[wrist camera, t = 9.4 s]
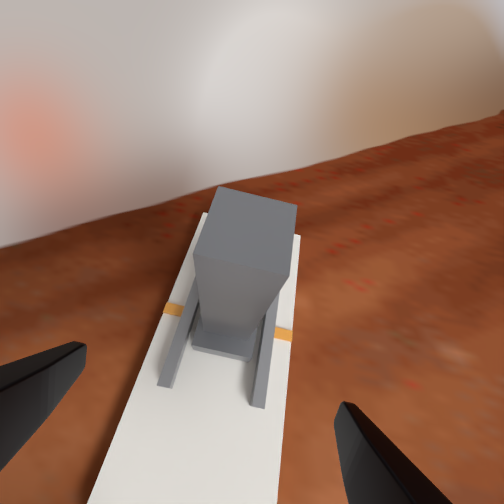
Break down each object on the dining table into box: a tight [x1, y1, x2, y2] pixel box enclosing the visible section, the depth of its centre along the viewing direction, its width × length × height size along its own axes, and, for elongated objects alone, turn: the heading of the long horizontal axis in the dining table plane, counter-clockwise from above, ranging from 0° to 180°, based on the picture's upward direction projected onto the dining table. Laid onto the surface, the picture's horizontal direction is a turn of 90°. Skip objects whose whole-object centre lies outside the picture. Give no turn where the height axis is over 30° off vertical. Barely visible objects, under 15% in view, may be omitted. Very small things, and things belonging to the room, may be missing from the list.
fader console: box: [87, 212, 300, 504], centre depth 18 cm, size 22×10×3 cm, turn 169°
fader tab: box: [191, 186, 297, 362], centre depth 13 cm, size 5×4×12 cm
